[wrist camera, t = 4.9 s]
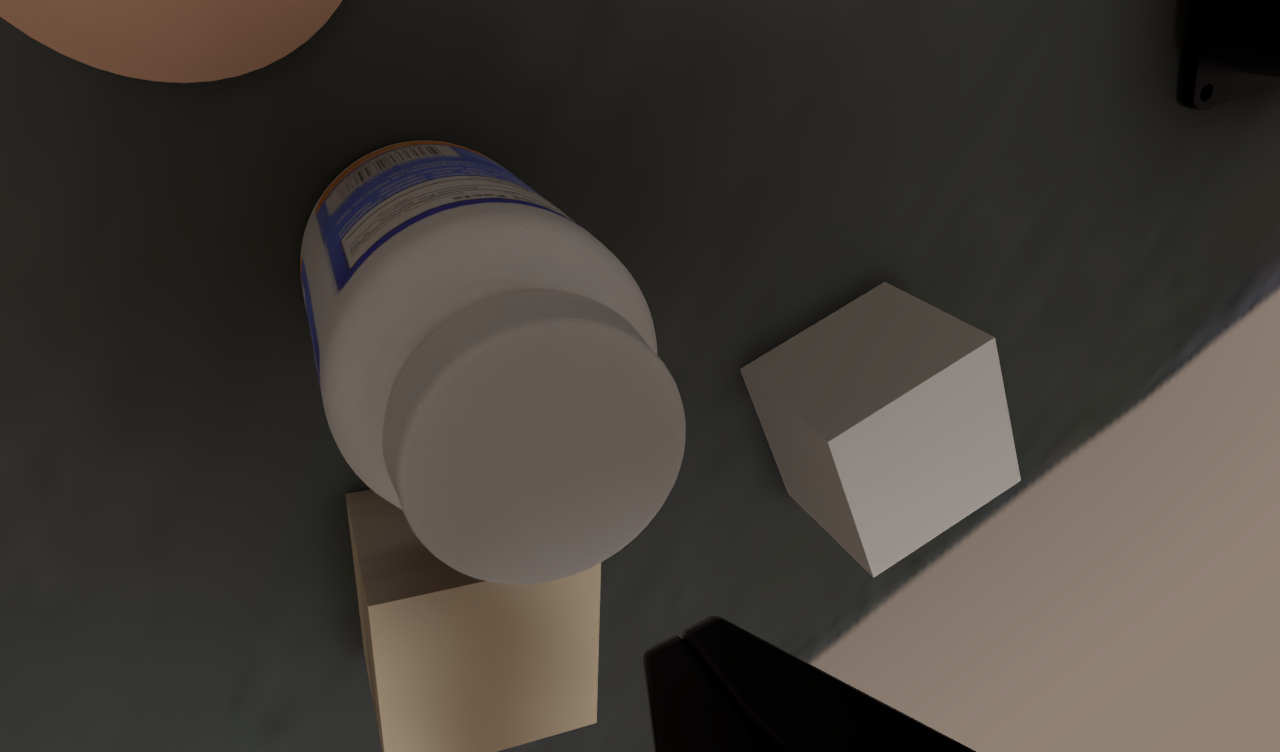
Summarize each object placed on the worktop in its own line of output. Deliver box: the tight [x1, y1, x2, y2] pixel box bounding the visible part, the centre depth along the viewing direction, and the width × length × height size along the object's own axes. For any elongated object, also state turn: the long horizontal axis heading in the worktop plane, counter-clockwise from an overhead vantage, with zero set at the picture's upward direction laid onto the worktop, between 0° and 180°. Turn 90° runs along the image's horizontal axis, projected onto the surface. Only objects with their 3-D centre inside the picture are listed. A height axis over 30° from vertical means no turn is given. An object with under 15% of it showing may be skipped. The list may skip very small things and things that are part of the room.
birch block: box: [346, 489, 601, 752], centre depth 21 cm, size 5×5×4 cm
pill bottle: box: [300, 140, 686, 585], centre depth 16 cm, size 5×5×10 cm
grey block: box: [740, 282, 1021, 578], centre depth 24 cm, size 5×5×4 cm
